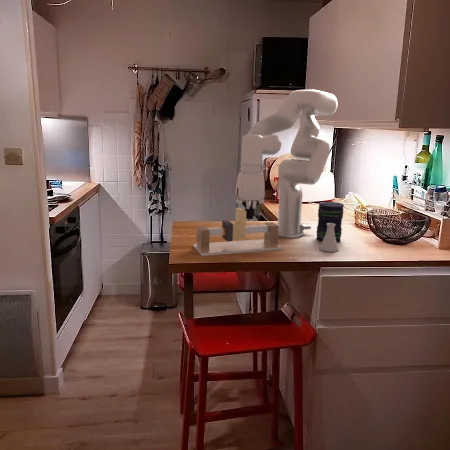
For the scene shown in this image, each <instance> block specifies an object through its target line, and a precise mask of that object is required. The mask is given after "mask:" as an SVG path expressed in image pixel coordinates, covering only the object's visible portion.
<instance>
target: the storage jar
mask: <svg viewBox="0 0 450 450" xmlns="http://www.w3.org/2000/svg"><path fill="white" fill-rule="evenodd" d="M344 207H345V206H344V203H341V202H335V201H320V202H319V203H318V208H317V209H318V210H317V218H318V220H317V226H316V239H315V240H316V241H317V242H320V243H322V241H323V239H324V237H325V235H326V231H327V223H333V224H335V226H334V234H335V238H336V242H337V244H339V243H341V237H342V234H343V233H342V232H343V231H342V224H343V223H342V220H343V218H344Z"/></svg>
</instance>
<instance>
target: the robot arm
mask: <svg viewBox="0 0 450 450" xmlns="http://www.w3.org/2000/svg"><path fill="white" fill-rule="evenodd" d="M337 109H338V100H337V97H336V96H335V95H334V94H333V93H329V92H326V91H321V90H317V89H299V90H298V89H296V90H293V91H291V92H290V93H289V94H288V96H287V97H285V99H284V100H283V102H282V103H281V104H280V106H279V107H278V108H277V110H276V111H275V112H273V113H271V114H270V115H268V116H266V117H264V118H262V119H261V120H259V121H258V122H256V123H255V124H253V126H252V127H251V128H250V130H248V132H247V134H245V135H243V136H242V139H241V160H240V161H241V165H240V167H241V168H240V172H238V174H237V179H236V183H235V185H236V186H235V194H234V195H235V198H236V200H235V203H236V204H238V205H242V206H243V207H244V210H246V220H249V221H251V220H254V217H255V209H256V208H257V206H258V205H259V204H260V205H261V204H263V203H265V196H266V195H265V194H266V193H265V192H266V191H265V187H266V185H265V178H264V173H263V171H265V170H266V165H263V155H265V156H273V155H276V154H278V153H279V151H280V150H281V147H282V140H281V138H280V137H279V136H277V135H276V133H281V132H284V131H286V130H290V129H291V128H292V127H293V126H294V125H295V123H296V122H297V120H298V119H299V126H298V127H299V128H298V130H297V132H296V135H295V137H294V139H293V142H292V145H291V147H290V155H291V157H293V158H286V159H284V160H281V161H280V163H279V165H278V167H277V172H278V173H277V174H278V181H279V183H278V185H279V192H278V193H279V195H278V212H277V213H278V215H277V225H278V226H279V230H278V237H282V238H289V239H291V238H292V239H296V238H297V239H298V238H301V237H304V234H305V233H304V231H305V230H306V231H307V230H312V229H311V228H312V226H311V225H310V224H305V223H304V224H303V223H301V222H302V207H303V206H302V205H303V196H304V195H303V190H302V187H301V185H308V186H312V185H315V184H317V183H318V182H319V180H320V178H321V176H322V174H323V170H324V168H325V166H326V164H327V161H328V158H329V155H330V150H331V148H330V147H331V146H330V142H329V141H328V140H327V139H326V138H325V137H321V136H320V137H318V136H319V133H320V125H319V123H318V122H317V120H316V118H315V116H316V117H317V116H321V117H322V116H323V117H324V116H325V117H327V116H332V115H334V114H335V112H336V111H337ZM300 184H301V185H300Z"/></svg>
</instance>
